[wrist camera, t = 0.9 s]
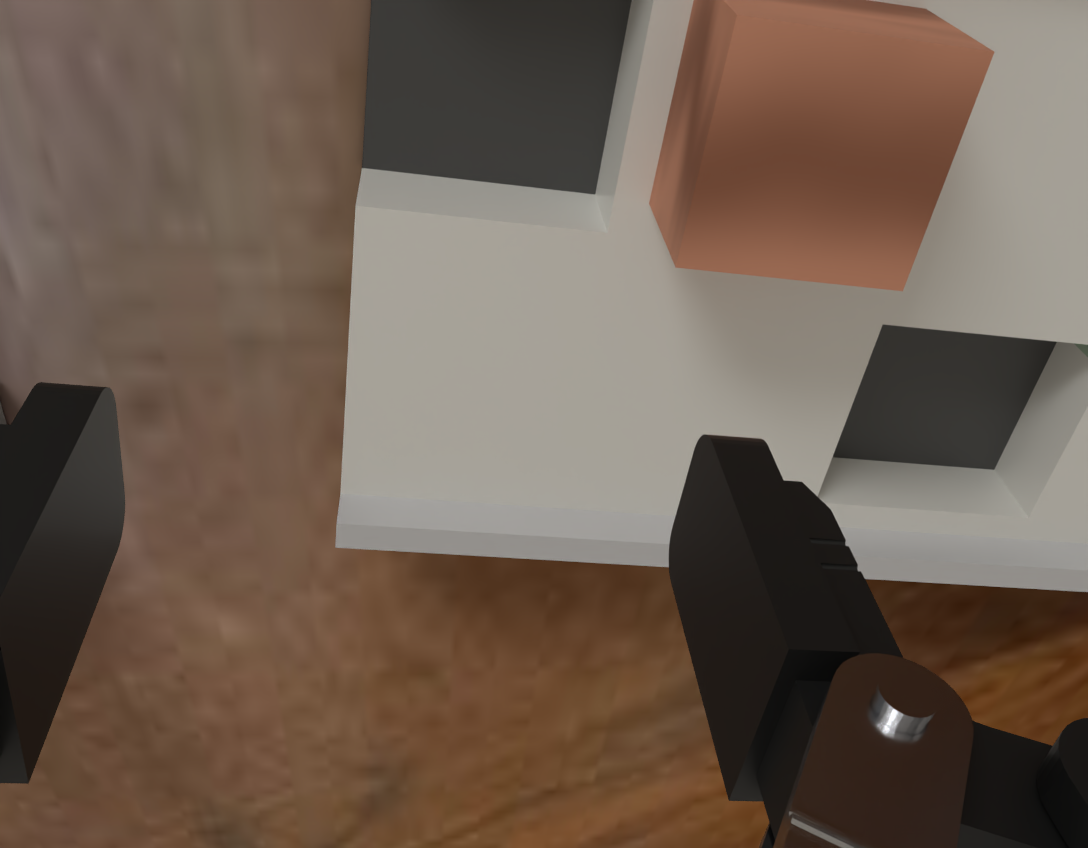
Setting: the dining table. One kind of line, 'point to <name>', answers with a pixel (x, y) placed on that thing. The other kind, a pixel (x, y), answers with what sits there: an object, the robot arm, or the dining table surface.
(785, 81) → the block
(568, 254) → the box
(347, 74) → the dining table surface
